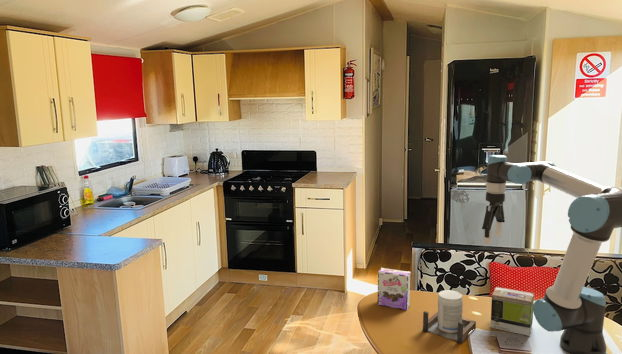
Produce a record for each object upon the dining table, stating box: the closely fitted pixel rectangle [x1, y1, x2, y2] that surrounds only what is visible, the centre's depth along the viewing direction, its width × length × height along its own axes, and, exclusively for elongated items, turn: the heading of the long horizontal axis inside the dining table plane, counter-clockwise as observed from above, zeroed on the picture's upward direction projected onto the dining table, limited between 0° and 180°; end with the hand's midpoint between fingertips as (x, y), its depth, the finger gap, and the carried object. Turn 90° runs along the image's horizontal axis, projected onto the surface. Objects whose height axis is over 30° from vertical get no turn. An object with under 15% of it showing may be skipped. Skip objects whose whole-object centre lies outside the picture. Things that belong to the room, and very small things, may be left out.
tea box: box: [490, 286, 535, 337], centre depth 194 cm, size 15×10×15 cm, turn 59°
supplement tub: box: [437, 289, 463, 333], centre depth 192 cm, size 10×10×15 cm
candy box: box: [377, 267, 412, 311], centre depth 214 cm, size 14×6×16 cm, turn 67°
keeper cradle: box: [422, 311, 477, 344], centre depth 193 cm, size 16×16×8 cm
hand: (492, 240), depth 203 cm, fingers open, 13 cm apart
